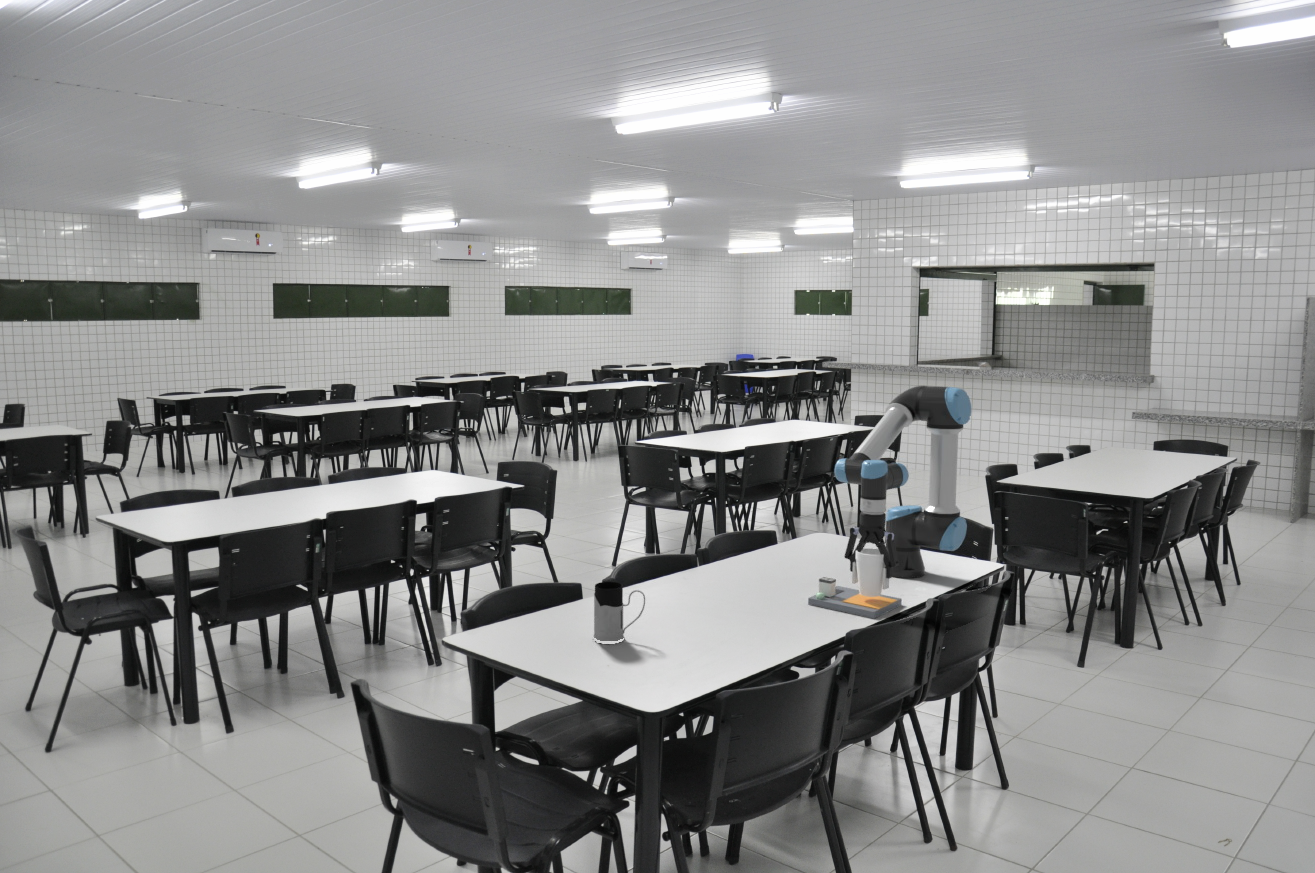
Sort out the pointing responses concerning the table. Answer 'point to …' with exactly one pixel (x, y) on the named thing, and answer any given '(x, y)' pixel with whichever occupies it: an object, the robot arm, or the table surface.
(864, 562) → the foam cup
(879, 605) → the grey flat block
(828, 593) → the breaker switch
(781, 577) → the table surface
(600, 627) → the glass holder
